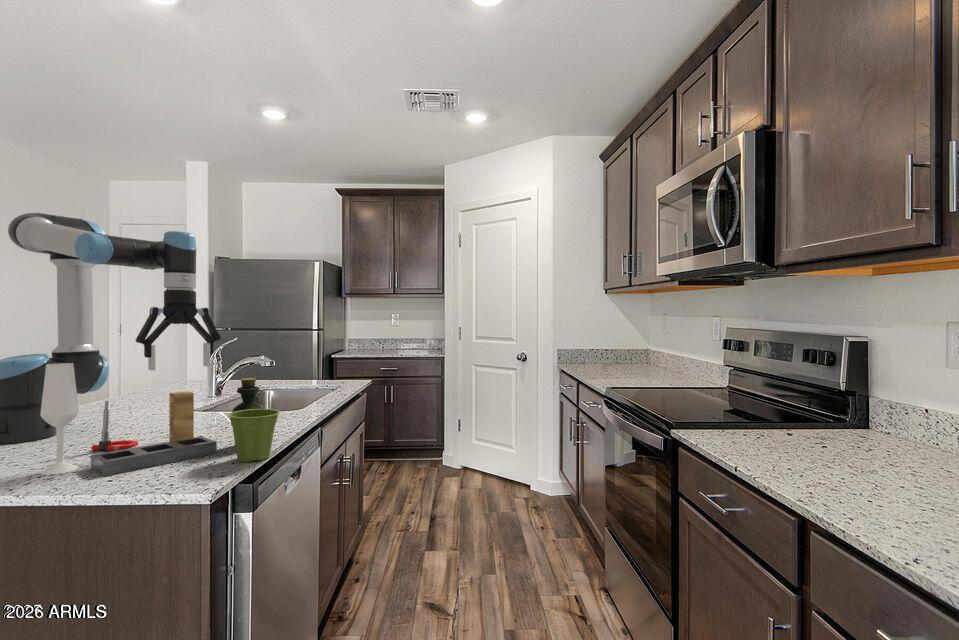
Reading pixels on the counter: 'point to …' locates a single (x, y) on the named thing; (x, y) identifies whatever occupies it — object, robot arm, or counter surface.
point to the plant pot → (253, 433)
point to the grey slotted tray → (152, 455)
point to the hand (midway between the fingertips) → (180, 368)
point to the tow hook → (105, 442)
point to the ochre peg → (181, 415)
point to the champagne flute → (59, 408)
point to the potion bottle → (248, 395)
